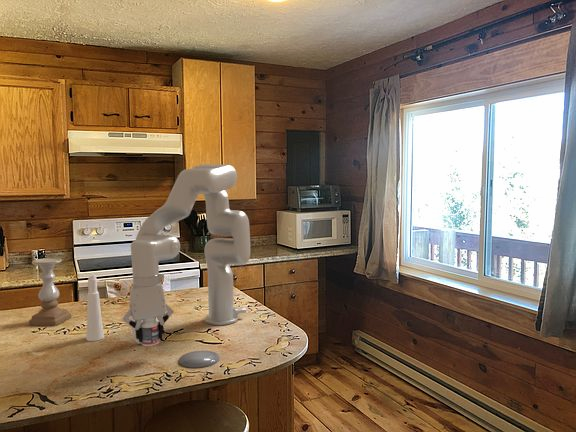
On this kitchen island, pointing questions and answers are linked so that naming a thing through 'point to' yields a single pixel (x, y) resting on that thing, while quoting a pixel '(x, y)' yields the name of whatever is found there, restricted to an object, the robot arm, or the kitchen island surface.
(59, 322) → the candle holder
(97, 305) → the cosmetic bottle
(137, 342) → the light bulb
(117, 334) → the kitchen island surface
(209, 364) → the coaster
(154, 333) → the pill bottle
